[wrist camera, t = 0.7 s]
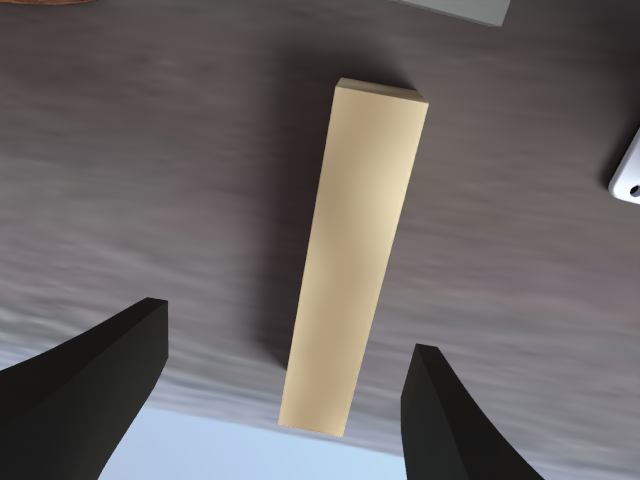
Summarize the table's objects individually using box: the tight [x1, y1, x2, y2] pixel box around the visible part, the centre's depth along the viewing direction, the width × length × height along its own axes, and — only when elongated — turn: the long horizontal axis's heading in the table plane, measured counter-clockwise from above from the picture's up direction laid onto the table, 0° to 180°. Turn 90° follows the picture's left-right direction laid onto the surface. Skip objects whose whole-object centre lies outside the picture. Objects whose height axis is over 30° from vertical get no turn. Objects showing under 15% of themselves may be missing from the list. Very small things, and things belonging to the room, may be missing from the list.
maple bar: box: [278, 77, 429, 437], centre depth 20 cm, size 3×16×4 cm, turn 170°
